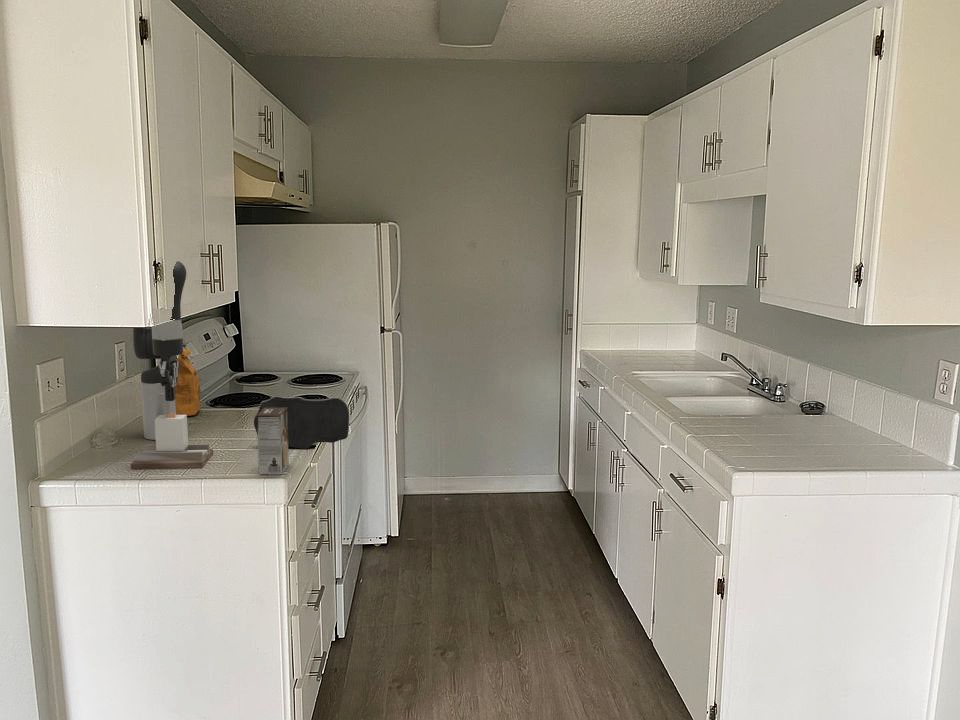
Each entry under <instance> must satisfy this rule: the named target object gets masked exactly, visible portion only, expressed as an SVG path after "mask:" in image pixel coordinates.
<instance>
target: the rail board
mask: <svg viewBox="0 0 960 720" xmlns="http://www.w3.org/2000/svg"><path fill="white" fill-rule="evenodd" d="M212 456H214V449H213V448H211V449H210V443H188V451H187V452H156V443H155V444H144V445H143V450H142V451H141V452H140V451H139V452H138V451H137V452H135V453H134V457H135V459H134V460H133V461H132V462H131V463H130V470H161V469H162V470H166V469H167V470H169V469H171V470H173V469H175V470H176V469H180V470H181V469H203V468H204V466H205V465H206V464H207V463H208V461H209V460H210V459H211V458H212ZM210 457H211V458H210ZM206 462H207V463H206Z"/></svg>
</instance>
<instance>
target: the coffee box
mask: <svg viewBox="0 0 960 720" xmlns="http://www.w3.org/2000/svg"><path fill="white" fill-rule="evenodd" d="M257 431H258V436H257V455H258V456H257V459H258V461H257V463H258V475H259V474H282V475H283V474H284V473H285V472H286V470H287V468H288V466H289V465H290V463H289V462H290V461H289V460H290V459H289V458H290V457H289V447H288V417H287V407H282V408H263V409H262V411H261V412H260V413H259V414H258V415H257ZM288 464H289V465H288Z"/></svg>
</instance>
